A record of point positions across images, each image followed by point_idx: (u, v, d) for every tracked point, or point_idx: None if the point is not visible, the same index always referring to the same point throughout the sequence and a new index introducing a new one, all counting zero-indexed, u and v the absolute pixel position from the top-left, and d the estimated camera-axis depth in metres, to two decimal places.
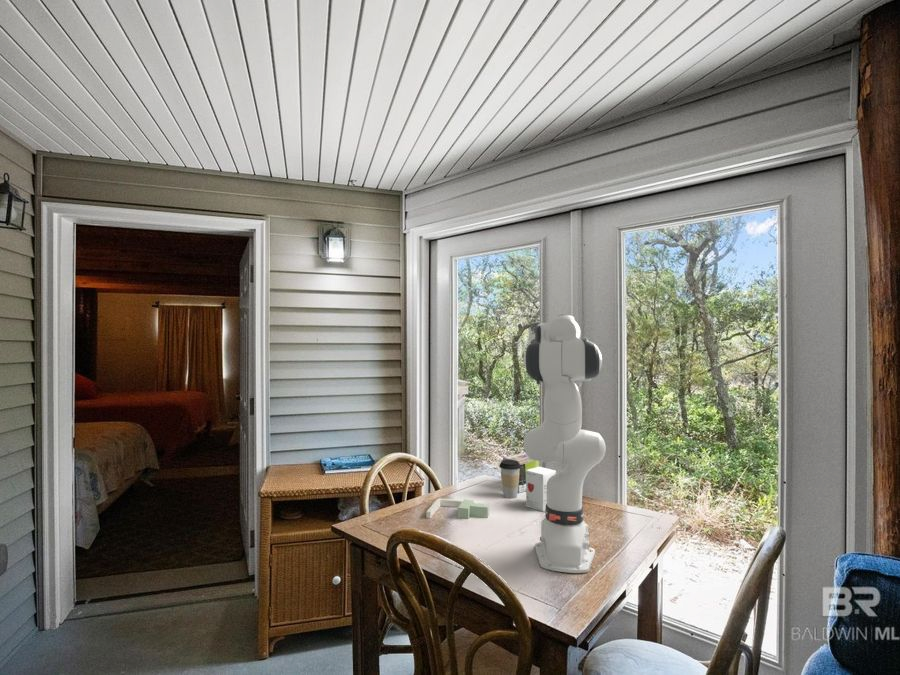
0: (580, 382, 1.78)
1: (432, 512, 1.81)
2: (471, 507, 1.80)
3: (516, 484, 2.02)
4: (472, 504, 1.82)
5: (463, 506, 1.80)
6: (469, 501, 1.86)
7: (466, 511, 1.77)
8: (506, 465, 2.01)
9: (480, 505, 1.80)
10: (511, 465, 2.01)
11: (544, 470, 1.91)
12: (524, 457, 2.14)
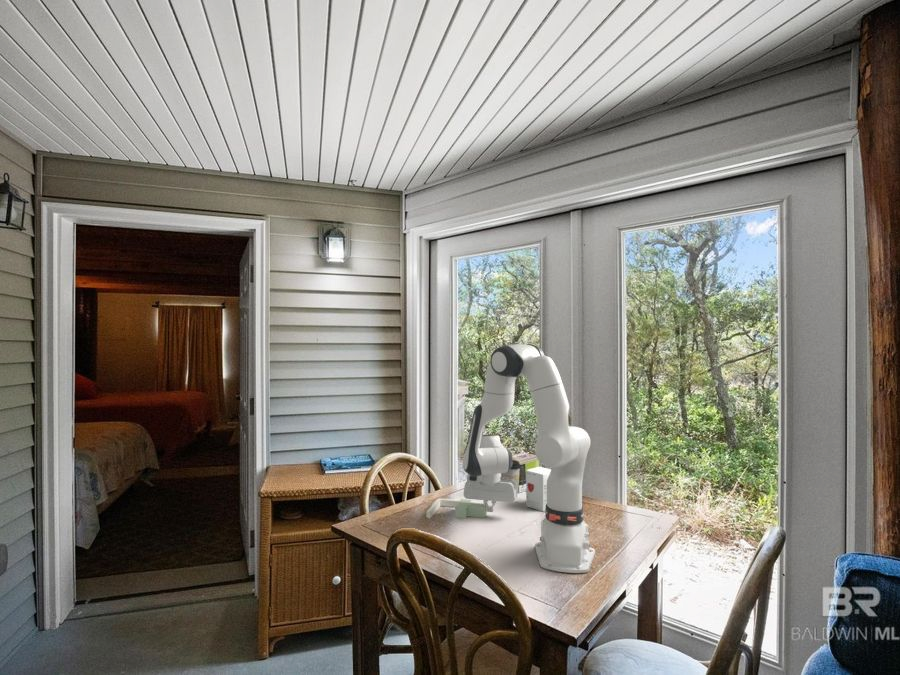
0: None
1: (432, 512, 1.81)
2: (468, 507, 1.80)
3: (516, 484, 2.02)
4: (470, 503, 1.83)
5: (460, 506, 1.80)
6: (467, 500, 1.86)
7: (463, 511, 1.78)
8: None
9: (478, 505, 1.81)
10: None
11: (544, 470, 1.91)
12: (524, 457, 2.14)
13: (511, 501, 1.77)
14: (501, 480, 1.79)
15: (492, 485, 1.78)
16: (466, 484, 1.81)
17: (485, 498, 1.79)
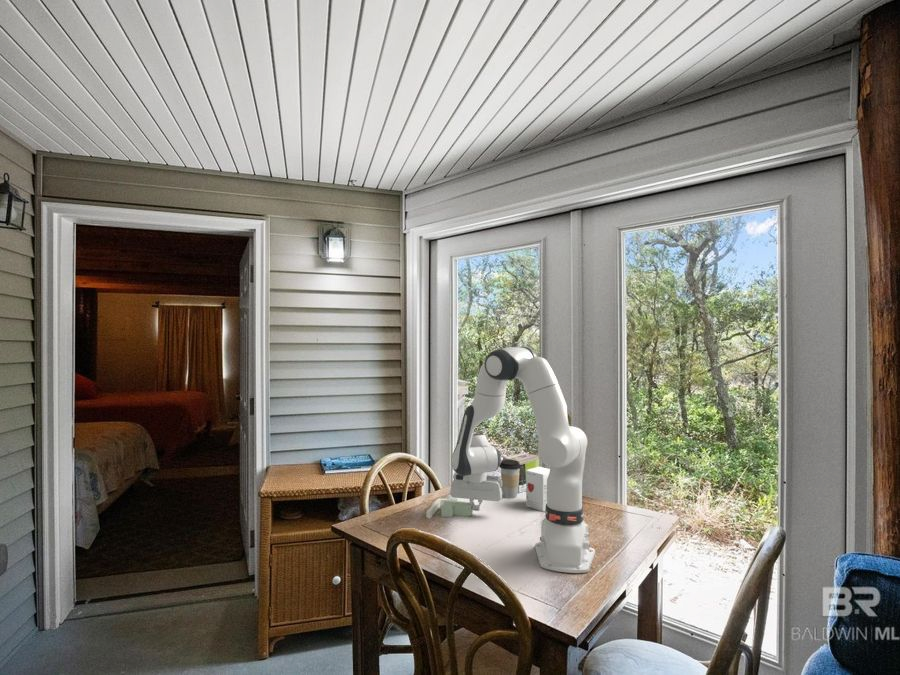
0: None
1: (432, 512, 1.81)
2: (454, 505, 1.82)
3: (516, 484, 2.02)
4: (456, 502, 1.84)
5: (446, 504, 1.81)
6: (453, 499, 1.87)
7: (449, 509, 1.79)
8: (506, 465, 2.01)
9: (464, 504, 1.82)
10: (511, 465, 2.01)
11: (544, 470, 1.91)
12: (524, 457, 2.14)
13: (497, 500, 1.78)
14: (487, 479, 1.80)
15: (478, 484, 1.79)
16: (453, 483, 1.82)
17: (471, 497, 1.81)
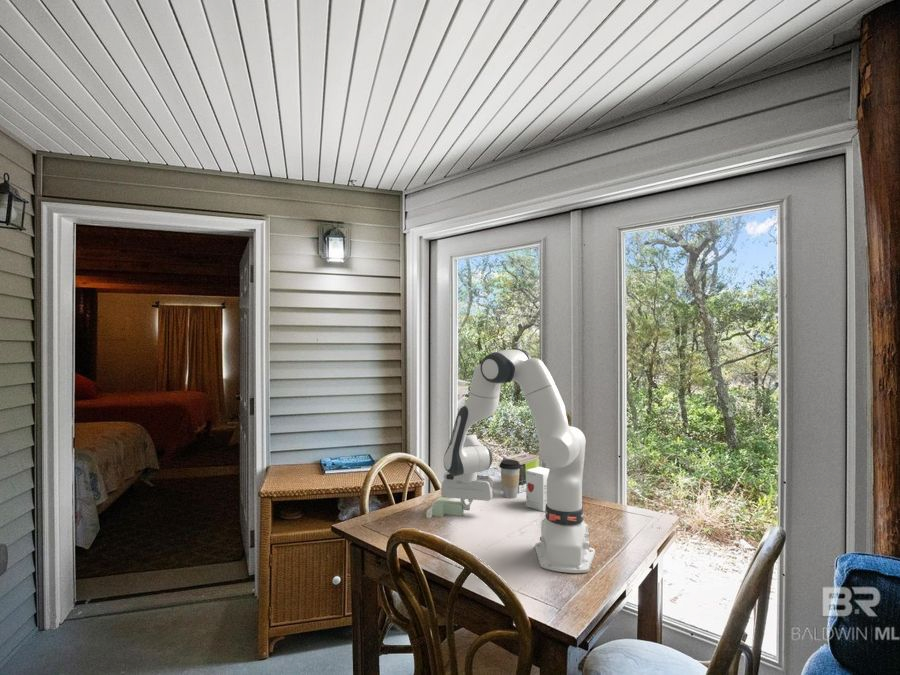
0: None
1: None
2: (445, 505, 1.83)
3: (516, 484, 2.02)
4: (447, 501, 1.85)
5: (438, 504, 1.82)
6: (444, 499, 1.88)
7: (440, 509, 1.80)
8: (506, 465, 2.01)
9: (455, 503, 1.83)
10: (511, 465, 2.01)
11: (544, 470, 1.91)
12: (524, 457, 2.14)
13: (487, 499, 1.79)
14: (478, 479, 1.81)
15: (469, 484, 1.80)
16: (443, 483, 1.83)
17: (462, 496, 1.81)
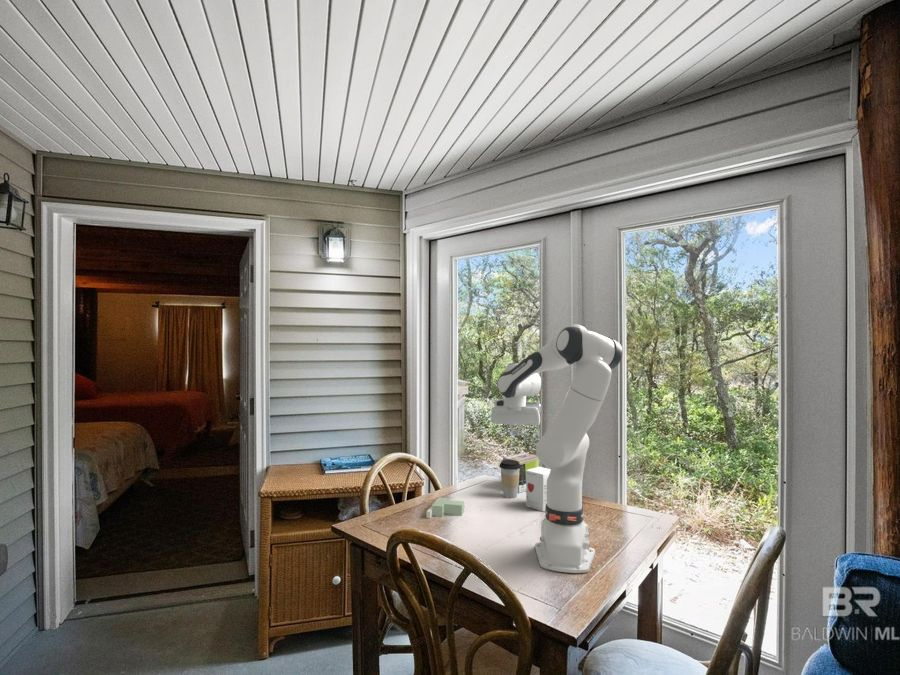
0: None
1: None
2: (445, 505, 1.83)
3: (516, 484, 2.02)
4: (447, 501, 1.85)
5: (438, 504, 1.82)
6: (444, 499, 1.88)
7: (440, 509, 1.80)
8: (506, 465, 2.01)
9: (455, 503, 1.83)
10: (511, 465, 2.01)
11: (544, 470, 1.91)
12: (524, 457, 2.14)
13: (536, 424, 1.88)
14: (526, 405, 1.91)
15: (518, 409, 1.89)
16: (493, 409, 1.92)
17: (511, 422, 1.91)
